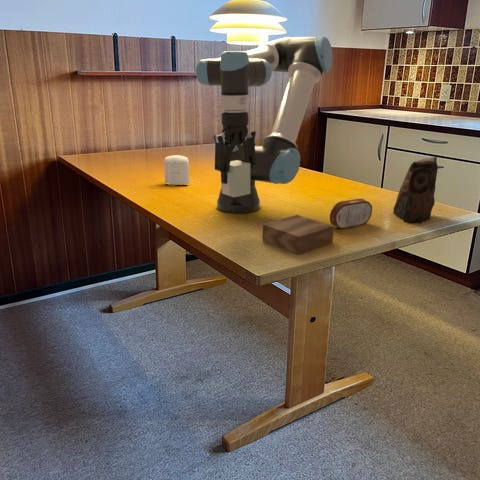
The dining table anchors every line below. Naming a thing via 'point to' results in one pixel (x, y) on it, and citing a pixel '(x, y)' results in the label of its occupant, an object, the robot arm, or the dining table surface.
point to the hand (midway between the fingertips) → (235, 191)
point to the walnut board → (298, 234)
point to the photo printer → (176, 170)
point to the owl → (417, 192)
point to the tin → (350, 213)
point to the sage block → (239, 178)
